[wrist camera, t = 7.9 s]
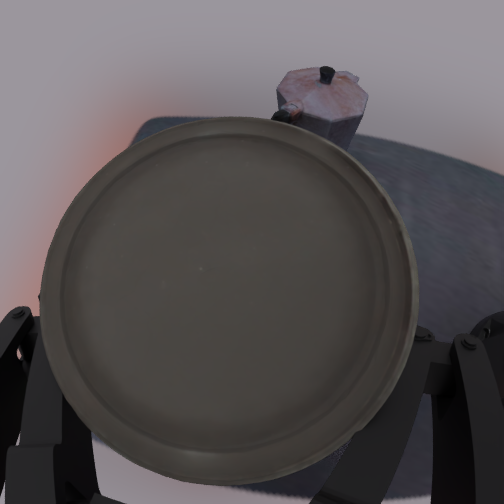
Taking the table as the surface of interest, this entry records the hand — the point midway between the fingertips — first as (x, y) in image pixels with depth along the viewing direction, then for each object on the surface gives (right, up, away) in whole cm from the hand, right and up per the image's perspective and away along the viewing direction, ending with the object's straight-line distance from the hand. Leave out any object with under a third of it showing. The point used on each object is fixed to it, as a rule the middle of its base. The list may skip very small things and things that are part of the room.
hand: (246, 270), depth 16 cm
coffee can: (0, -5, +4) cm, 6 cm away
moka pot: (+8, +9, +27) cm, 29 cm away
